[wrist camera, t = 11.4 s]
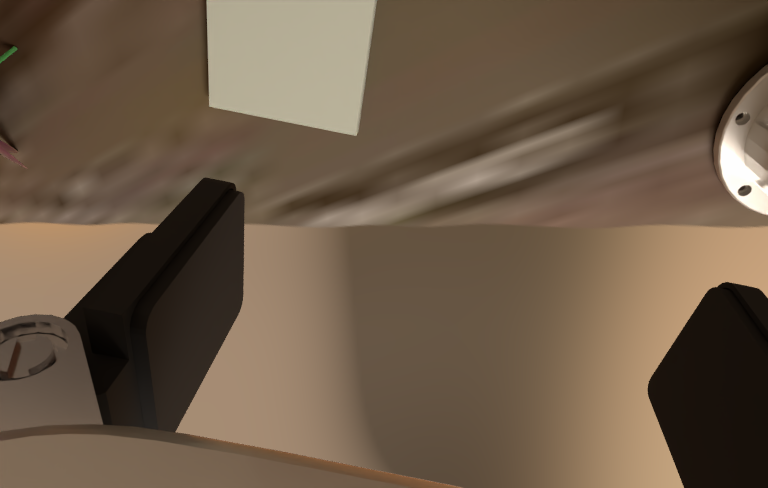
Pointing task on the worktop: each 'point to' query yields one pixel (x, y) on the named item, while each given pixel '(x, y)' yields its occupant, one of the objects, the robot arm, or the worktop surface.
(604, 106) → the worktop surface
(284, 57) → the mat
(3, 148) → the lily
